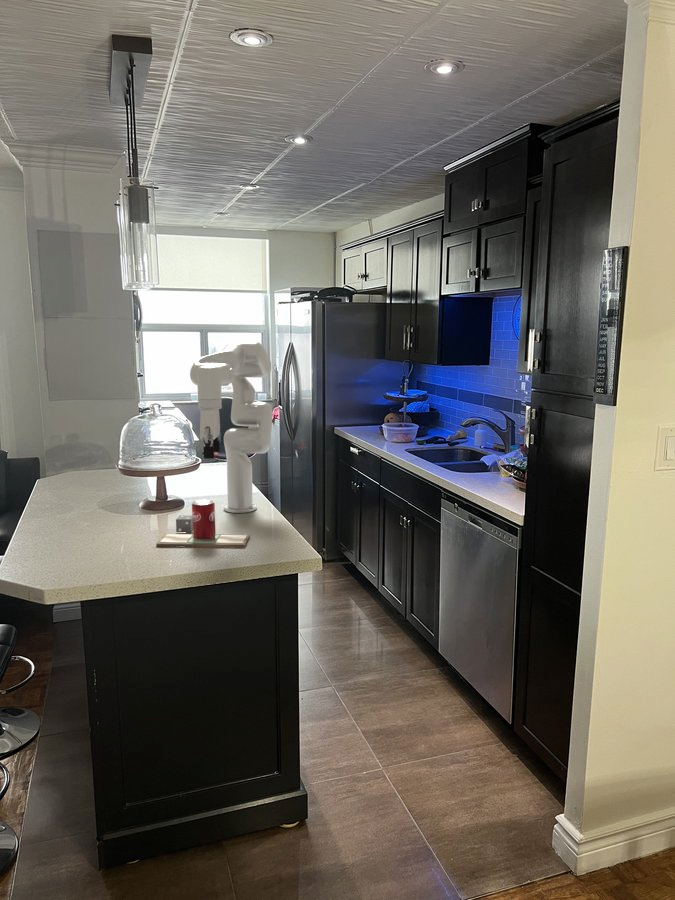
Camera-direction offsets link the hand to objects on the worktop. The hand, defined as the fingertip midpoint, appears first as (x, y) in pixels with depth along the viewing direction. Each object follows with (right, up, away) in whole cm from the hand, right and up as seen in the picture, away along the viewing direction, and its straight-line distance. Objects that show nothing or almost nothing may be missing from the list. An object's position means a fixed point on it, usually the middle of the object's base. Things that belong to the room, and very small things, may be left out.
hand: (212, 455), depth 222 cm
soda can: (-2, -27, -4) cm, 28 cm away
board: (-2, -28, -4) cm, 29 cm away
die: (-11, -26, +8) cm, 29 cm away
